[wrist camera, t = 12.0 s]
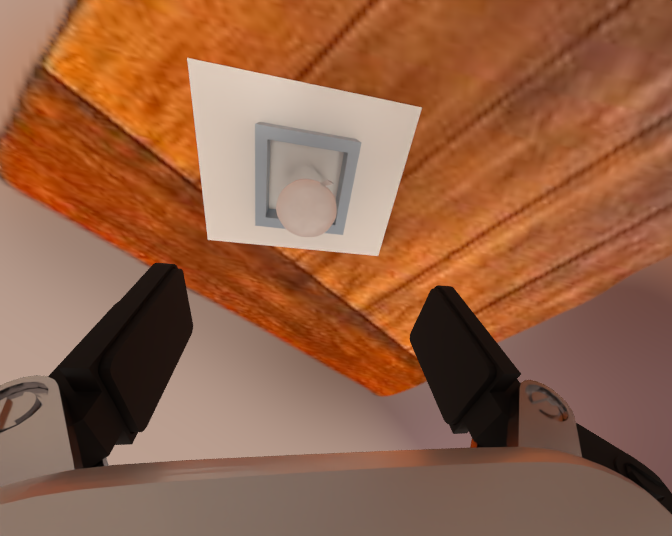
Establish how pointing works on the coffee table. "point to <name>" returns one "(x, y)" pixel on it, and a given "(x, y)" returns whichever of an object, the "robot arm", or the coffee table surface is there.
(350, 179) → the dock
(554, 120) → the coffee table surface
